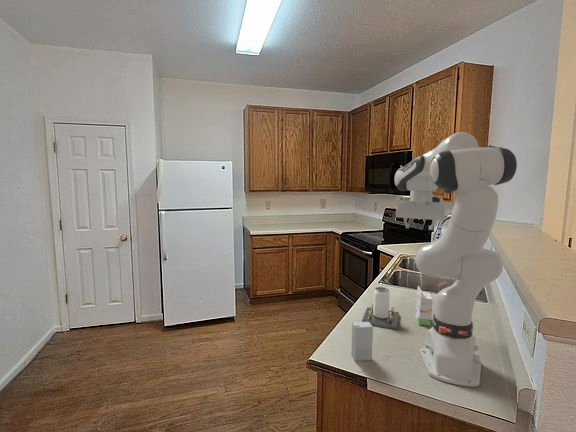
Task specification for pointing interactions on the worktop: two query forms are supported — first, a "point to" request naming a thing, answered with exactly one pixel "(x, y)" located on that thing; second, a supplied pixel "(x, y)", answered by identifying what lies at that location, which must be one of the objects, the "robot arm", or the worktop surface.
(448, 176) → the robot arm
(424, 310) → the ink box
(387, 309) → the can
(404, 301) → the worktop surface
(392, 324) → the plate
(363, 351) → the skincare box
